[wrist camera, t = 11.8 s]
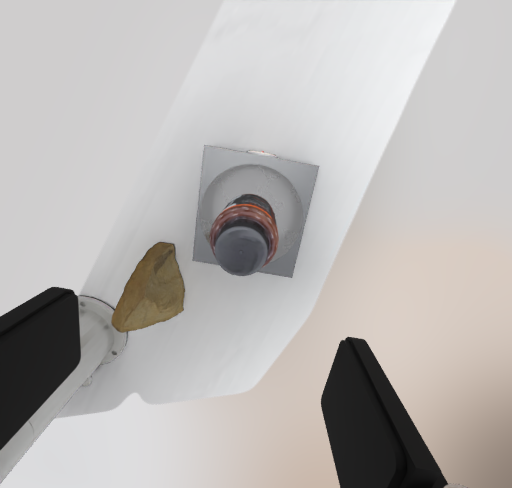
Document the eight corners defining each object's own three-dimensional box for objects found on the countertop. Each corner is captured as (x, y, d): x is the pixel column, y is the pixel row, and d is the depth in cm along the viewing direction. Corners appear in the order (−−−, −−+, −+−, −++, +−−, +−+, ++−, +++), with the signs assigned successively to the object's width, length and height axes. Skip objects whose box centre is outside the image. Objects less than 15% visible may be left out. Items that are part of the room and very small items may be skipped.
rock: (135, 228, 33) (102, 290, 34) (152, 262, 27) (110, 335, 28) (202, 250, 40) (172, 300, 42) (226, 281, 34) (190, 337, 36)
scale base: (289, 265, 36) (291, 277, 32) (200, 250, 36) (192, 260, 32) (313, 161, 32) (320, 161, 28) (211, 143, 31) (204, 140, 28)
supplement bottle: (220, 194, 28) (194, 214, 18) (273, 190, 28) (279, 207, 17) (226, 244, 30) (206, 290, 19) (276, 241, 30) (283, 285, 19)
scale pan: (289, 270, 32) (290, 273, 31) (196, 254, 32) (195, 256, 31) (312, 174, 28) (314, 174, 27) (207, 155, 28) (205, 154, 27)
